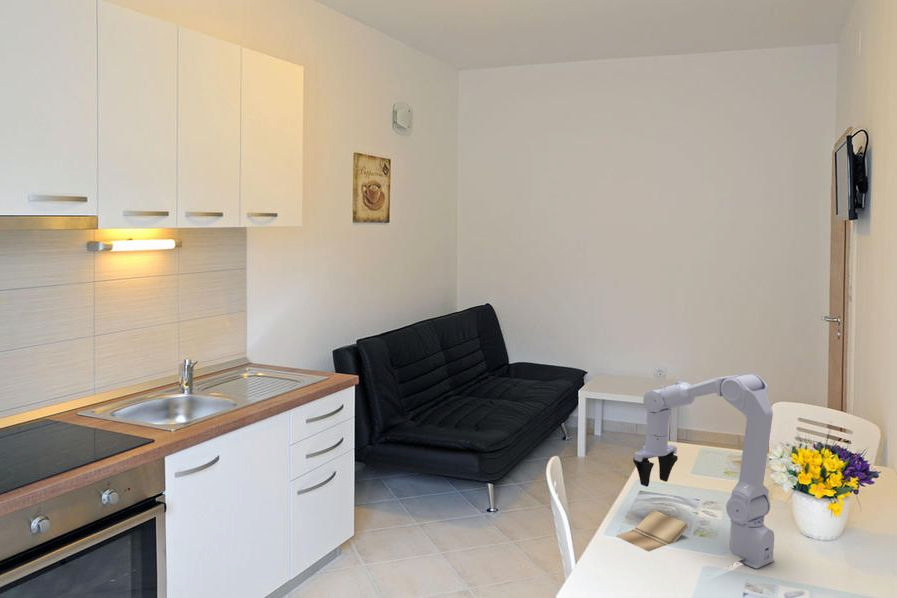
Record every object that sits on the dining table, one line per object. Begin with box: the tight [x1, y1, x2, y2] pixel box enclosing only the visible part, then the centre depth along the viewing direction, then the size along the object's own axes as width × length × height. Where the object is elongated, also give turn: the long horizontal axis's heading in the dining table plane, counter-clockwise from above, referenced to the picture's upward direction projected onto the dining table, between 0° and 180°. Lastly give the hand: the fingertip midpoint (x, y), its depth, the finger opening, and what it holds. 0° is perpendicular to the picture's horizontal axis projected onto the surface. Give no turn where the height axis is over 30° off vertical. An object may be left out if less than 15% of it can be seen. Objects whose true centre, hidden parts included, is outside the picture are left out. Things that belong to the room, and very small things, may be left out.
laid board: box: [615, 529, 668, 552], centre depth 186 cm, size 10×7×2 cm
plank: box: [633, 509, 689, 545], centre depth 191 cm, size 10×8×2 cm
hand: (654, 482), depth 203 cm, fingers open, 7 cm apart
